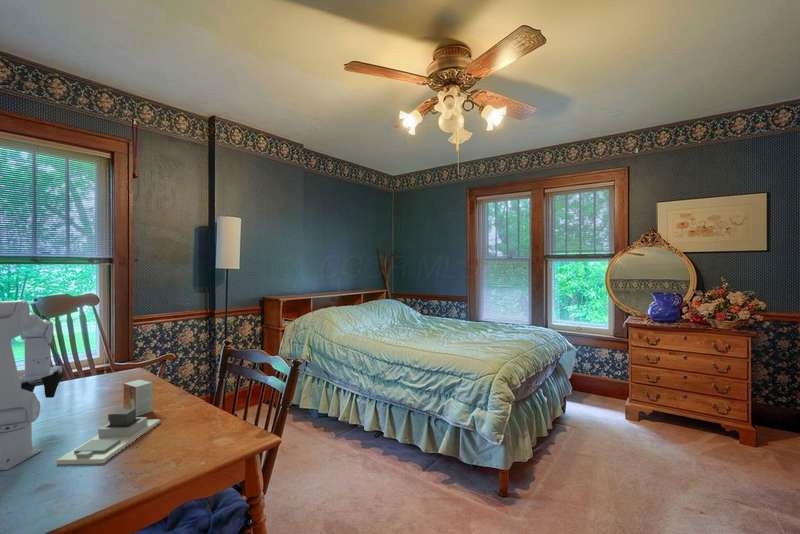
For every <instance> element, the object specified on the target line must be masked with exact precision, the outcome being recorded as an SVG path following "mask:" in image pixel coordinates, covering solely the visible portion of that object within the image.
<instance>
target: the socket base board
mask: <svg viewBox="0 0 800 534" xmlns="http://www.w3.org/2000/svg"><path fill="white" fill-rule="evenodd" d="M158 423H159V424H161V419H159V418H158V419H149V418H148V416H141V417H140V416H138V417H136V423H134V424H133V425H131V426H130V427H113V428H110V422H108V423H107V424H104V426H102V427H100V428H98V431H97V432H98V434H97V435H96V436H94V437H91V438H90V439H89V440H87V441H85V442H83V443H82V444H80V445H79V446H78V447H76V448H75V449H73V450H71V451H69V452H67V453H65V454H64V455H62V456H61V457H60V458H57V459H56V465H88V464H89V465H90V464H91V465H93V464H94V465H97V464H98V465H99V464H102V463H104V464H105V463H106V462H108V461H109V460H110V458H111V457H112V456H113V457H114V455H115V454H116V455H117V454H119V453H120V452H122V451H123V450H124V449H125V447H126V446H127V447H128V445H129V444H130V445H131V444H132V442H133V443H134V442H135V440H136V439H137V438H138V439H140V438H141V437H142V436H141V435H143V434H144V433H145V434H147V433H148V432H150V431H151V430H152V429H154V428H155V427H156V426H157V424H158ZM159 424H158V425H159ZM153 427H154V428H153ZM150 429H151V430H150ZM147 431H148V432H147ZM146 432H147V433H146ZM145 434H144V435H145ZM144 435H143V436H144ZM140 436H141V437H140ZM139 437H140V438H139ZM138 439H137V440H138ZM137 440H136V441H137ZM130 445H129V446H130ZM127 447H126V448H127ZM122 449H123V450H122ZM121 450H122V451H121ZM118 452H119V453H118ZM116 455H115V456H116ZM113 457H112V458H113ZM112 458H111V459H112ZM108 459H109V460H108ZM107 460H108V461H107ZM102 465H103V464H102Z"/></svg>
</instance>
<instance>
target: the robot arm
mask: <svg viewBox="0 0 800 534" xmlns="http://www.w3.org/2000/svg"><path fill="white" fill-rule="evenodd" d="M30 310H31V309H30V304H29V302H28V301H26V300H25V299H19V300H1V301H0V471H7V470H10V469H11V468H13V467H15V466H17V465H19V464H20V463H23V462H24V461H26V460H27V459H29V458H31V457H33V456H35V455H37V454H38V453H40V452H42V449H41V448H39V449H38V448H36V449H33V433H32V432H33V431H32V429H33V427H32V423H35V422H36V421H37V420H38V418H39V416H40V413H41V402H40V400H38V398H37V395H36V394H35V392H34V390H35V387H36V386H37V385H36V384H35V383H33V384H32V383H31V382H33V381H37V380H40V379H41V382H42V384H43V388H44V389H43V390H44V396H45V398H46V399H49V398H50V399H51V398H55V395H56V393H57V392H56V391H57V388H58V386H59V384H60V382H61V380H62V379H63V378H64V373H63V366H62V365H56V366H52V365H51V362H52V361H51V358H52V356H51V343H52V342H53V333H54V323H53V321H51V320H48V319H42V318H41V317H40V316H39V315H38V314H36V313H35V312H34V311H30ZM17 337H20V339H21V341H24V344H23V345H24V374H23V375H20V376H19V372H18V368H17V365H16V364H17V363H16V359H15V355H14V350H13V348H12V342H11V341H13V339H15V338H17Z"/></svg>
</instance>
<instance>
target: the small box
mask: <svg viewBox="0 0 800 534" xmlns="http://www.w3.org/2000/svg"><path fill="white" fill-rule="evenodd" d="M153 387H154V386H153V382H151V381H147V380H144V379H136V380H132V381H128V382H125V383H123V409H136V417H137V416H138V417H140V415H141V416H143V415H146V414H148V413H152V412H153V407H154V405H153V401H154V400H153V399H154V397H153Z"/></svg>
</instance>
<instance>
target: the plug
mask: <svg viewBox="0 0 800 534" xmlns="http://www.w3.org/2000/svg"><path fill="white" fill-rule="evenodd" d="M107 421H108V422H109V423H110V428H113V427H130V426H131V425H133V424H134V423H136V409H124V408H118V409H116V410H115V411H112V412H110V413H109V414H107Z"/></svg>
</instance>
